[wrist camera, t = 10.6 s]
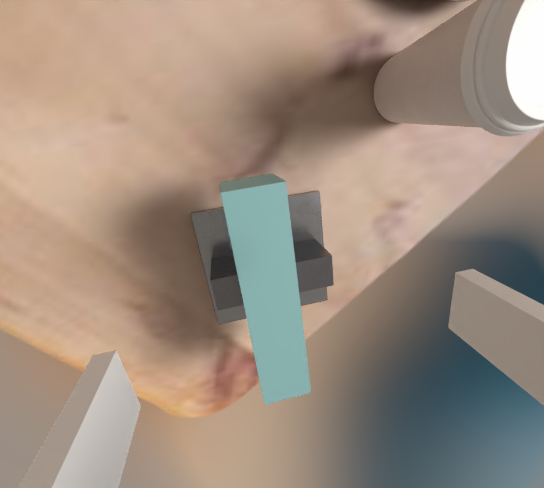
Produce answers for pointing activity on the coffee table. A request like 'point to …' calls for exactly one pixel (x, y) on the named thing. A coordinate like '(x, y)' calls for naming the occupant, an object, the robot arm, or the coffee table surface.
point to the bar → (268, 282)
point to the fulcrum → (221, 263)
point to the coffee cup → (471, 71)
